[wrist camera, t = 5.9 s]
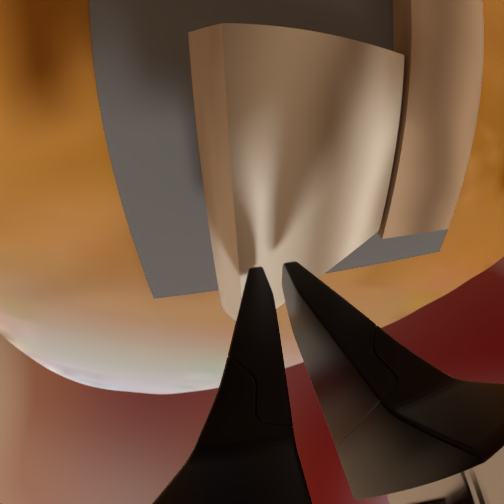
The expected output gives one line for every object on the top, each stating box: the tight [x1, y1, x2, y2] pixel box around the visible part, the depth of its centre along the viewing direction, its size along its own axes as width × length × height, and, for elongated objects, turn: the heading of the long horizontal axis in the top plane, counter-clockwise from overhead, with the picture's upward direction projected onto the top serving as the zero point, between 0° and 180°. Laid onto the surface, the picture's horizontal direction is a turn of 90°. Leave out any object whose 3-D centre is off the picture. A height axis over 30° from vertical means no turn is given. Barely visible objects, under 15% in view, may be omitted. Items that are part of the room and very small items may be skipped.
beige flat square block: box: [188, 23, 405, 321], centre depth 11 cm, size 10×10×2 cm
